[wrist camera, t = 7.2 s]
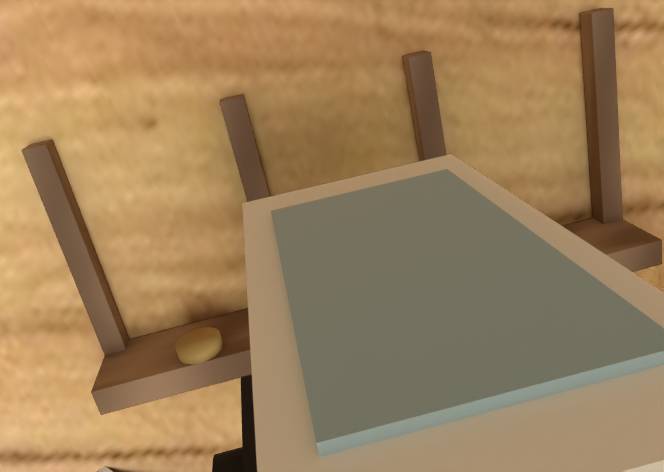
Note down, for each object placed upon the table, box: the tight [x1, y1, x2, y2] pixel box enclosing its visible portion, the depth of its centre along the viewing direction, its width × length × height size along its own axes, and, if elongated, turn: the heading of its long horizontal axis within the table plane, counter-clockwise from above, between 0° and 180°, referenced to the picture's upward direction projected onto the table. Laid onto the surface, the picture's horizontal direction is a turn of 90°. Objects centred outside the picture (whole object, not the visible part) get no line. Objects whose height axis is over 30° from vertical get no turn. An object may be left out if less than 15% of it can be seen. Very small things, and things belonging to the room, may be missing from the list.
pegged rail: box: [21, 8, 662, 415], centre depth 27 cm, size 26×11×4 cm, turn 102°
